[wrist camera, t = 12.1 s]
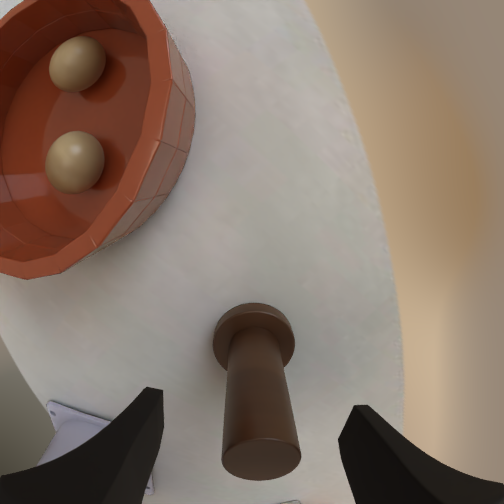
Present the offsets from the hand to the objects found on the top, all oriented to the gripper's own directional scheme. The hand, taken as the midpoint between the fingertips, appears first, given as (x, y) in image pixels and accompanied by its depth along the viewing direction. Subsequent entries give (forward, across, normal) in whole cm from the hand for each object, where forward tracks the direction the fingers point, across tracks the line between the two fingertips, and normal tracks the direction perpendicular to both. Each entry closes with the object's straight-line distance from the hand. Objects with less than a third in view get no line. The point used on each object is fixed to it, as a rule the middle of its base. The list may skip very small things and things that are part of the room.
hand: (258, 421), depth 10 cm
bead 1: (+4, +10, -13) cm, 17 cm away
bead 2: (+4, +9, -8) cm, 13 cm away
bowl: (+6, +10, -10) cm, 16 cm away
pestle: (+6, 0, -1) cm, 6 cm away
